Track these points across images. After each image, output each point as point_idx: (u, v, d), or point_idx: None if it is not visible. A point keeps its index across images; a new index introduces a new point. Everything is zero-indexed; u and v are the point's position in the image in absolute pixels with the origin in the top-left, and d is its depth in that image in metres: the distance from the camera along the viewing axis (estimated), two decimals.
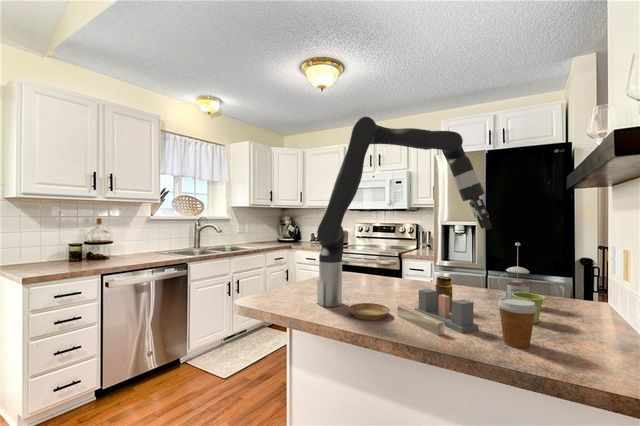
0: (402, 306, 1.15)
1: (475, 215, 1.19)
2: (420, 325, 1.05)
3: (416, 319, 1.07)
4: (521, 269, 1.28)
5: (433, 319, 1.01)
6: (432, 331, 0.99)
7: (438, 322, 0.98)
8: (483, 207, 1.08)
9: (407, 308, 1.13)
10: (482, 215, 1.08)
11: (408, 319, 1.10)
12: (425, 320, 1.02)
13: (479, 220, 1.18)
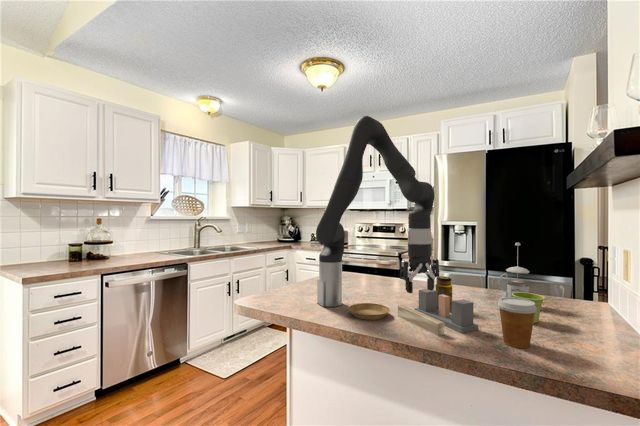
0: (402, 306, 1.15)
1: (427, 273, 1.10)
2: (420, 325, 1.05)
3: (416, 319, 1.07)
4: (521, 269, 1.28)
5: (433, 319, 1.01)
6: (432, 331, 0.99)
7: (438, 322, 0.98)
8: (403, 270, 1.04)
9: (407, 308, 1.13)
10: (401, 277, 1.05)
11: (408, 319, 1.10)
12: (425, 320, 1.02)
13: (428, 280, 1.09)
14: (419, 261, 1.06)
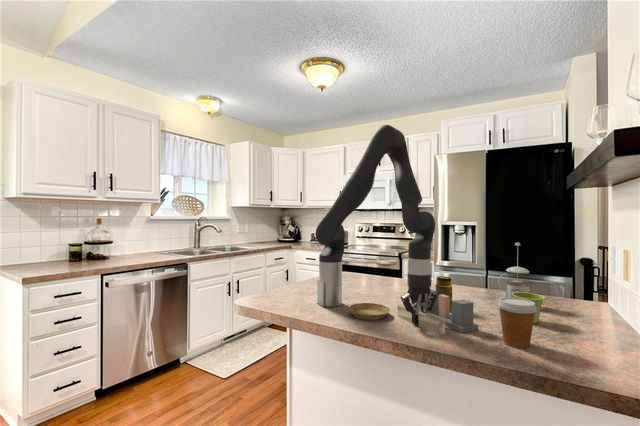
0: (402, 305, 1.15)
1: None
2: (420, 324, 1.05)
3: None
4: (521, 269, 1.28)
5: (433, 318, 1.01)
6: (432, 330, 0.99)
7: (438, 321, 0.98)
8: (406, 305, 1.04)
9: None
10: (407, 309, 1.06)
11: (408, 318, 1.10)
12: (425, 320, 1.02)
13: None
14: (418, 291, 1.06)
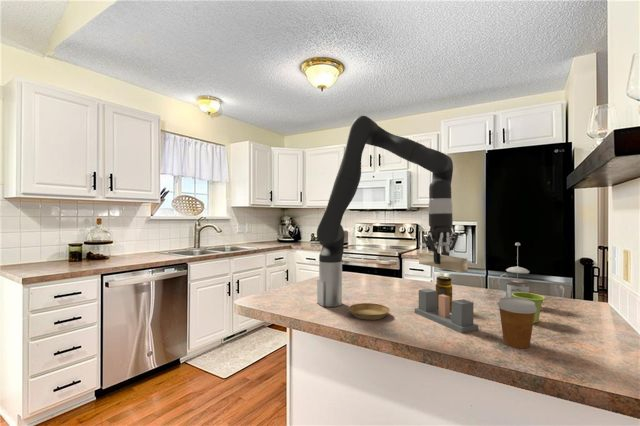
0: (423, 252, 1.18)
1: None
2: (442, 265, 1.07)
3: None
4: (521, 269, 1.28)
5: (456, 257, 1.04)
6: (455, 268, 1.02)
7: (461, 258, 1.01)
8: (428, 243, 1.07)
9: (428, 253, 1.15)
10: (429, 248, 1.09)
11: (430, 263, 1.13)
12: (447, 260, 1.05)
13: (442, 254, 1.11)
14: (440, 230, 1.08)
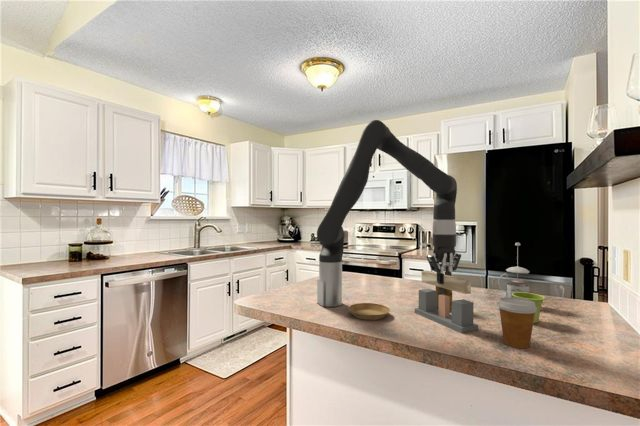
0: (426, 271, 1.19)
1: None
2: (446, 286, 1.09)
3: None
4: (521, 269, 1.28)
5: (459, 278, 1.05)
6: (459, 289, 1.04)
7: (465, 280, 1.02)
8: (432, 264, 1.08)
9: (431, 272, 1.17)
10: (432, 268, 1.10)
11: (433, 282, 1.14)
12: (451, 280, 1.07)
13: (445, 273, 1.12)
14: (444, 251, 1.10)
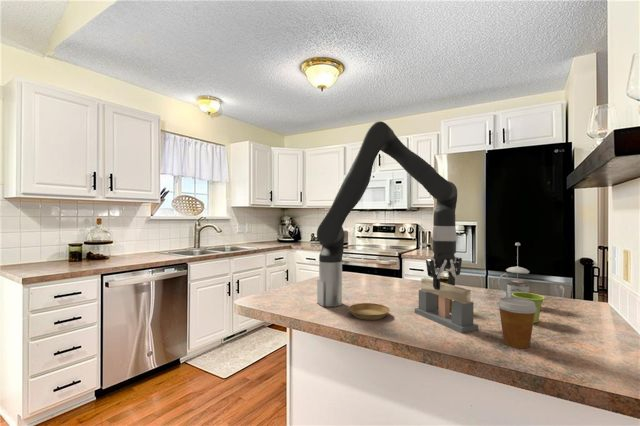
0: (426, 279, 1.19)
1: None
2: (445, 295, 1.09)
3: (441, 289, 1.11)
4: (521, 269, 1.28)
5: (459, 288, 1.05)
6: (458, 299, 1.03)
7: (464, 290, 1.02)
8: (430, 268, 1.08)
9: (431, 280, 1.17)
10: (429, 274, 1.09)
11: (433, 290, 1.14)
12: (451, 289, 1.06)
13: (448, 278, 1.13)
14: (444, 257, 1.10)
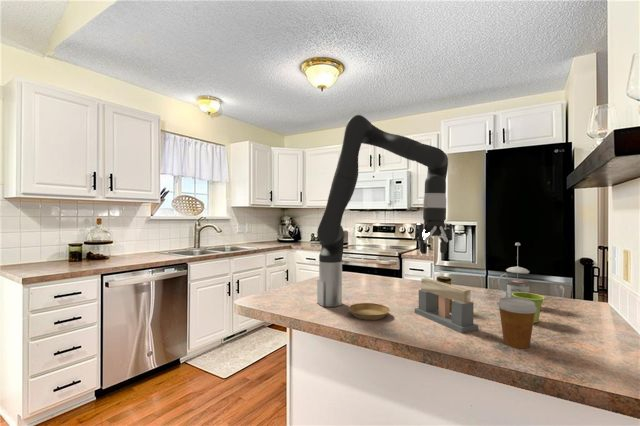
0: (426, 279, 1.19)
1: None
2: (445, 295, 1.09)
3: (441, 289, 1.11)
4: (521, 269, 1.28)
5: (459, 288, 1.05)
6: (458, 299, 1.03)
7: (464, 290, 1.02)
8: (418, 231, 1.10)
9: (431, 280, 1.17)
10: (416, 238, 1.11)
11: (433, 290, 1.14)
12: (451, 289, 1.06)
13: (441, 244, 1.15)
14: (434, 224, 1.12)
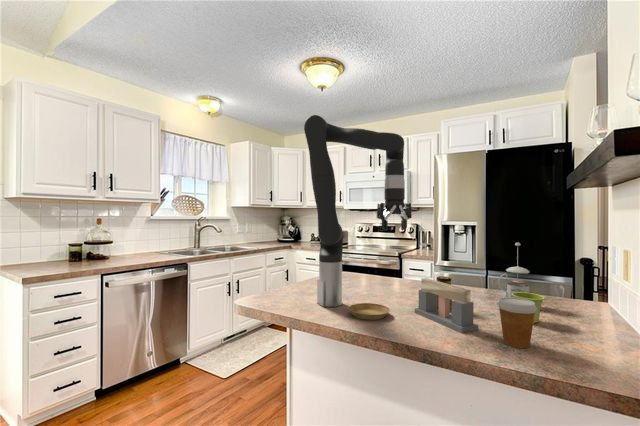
0: (426, 279, 1.19)
1: (401, 216, 1.28)
2: (445, 295, 1.09)
3: (441, 289, 1.11)
4: (521, 269, 1.28)
5: (459, 288, 1.05)
6: (458, 299, 1.03)
7: (464, 290, 1.02)
8: (379, 210, 1.22)
9: (431, 280, 1.17)
10: (377, 216, 1.23)
11: (433, 290, 1.14)
12: (451, 289, 1.06)
13: (401, 221, 1.27)
14: (393, 203, 1.23)
